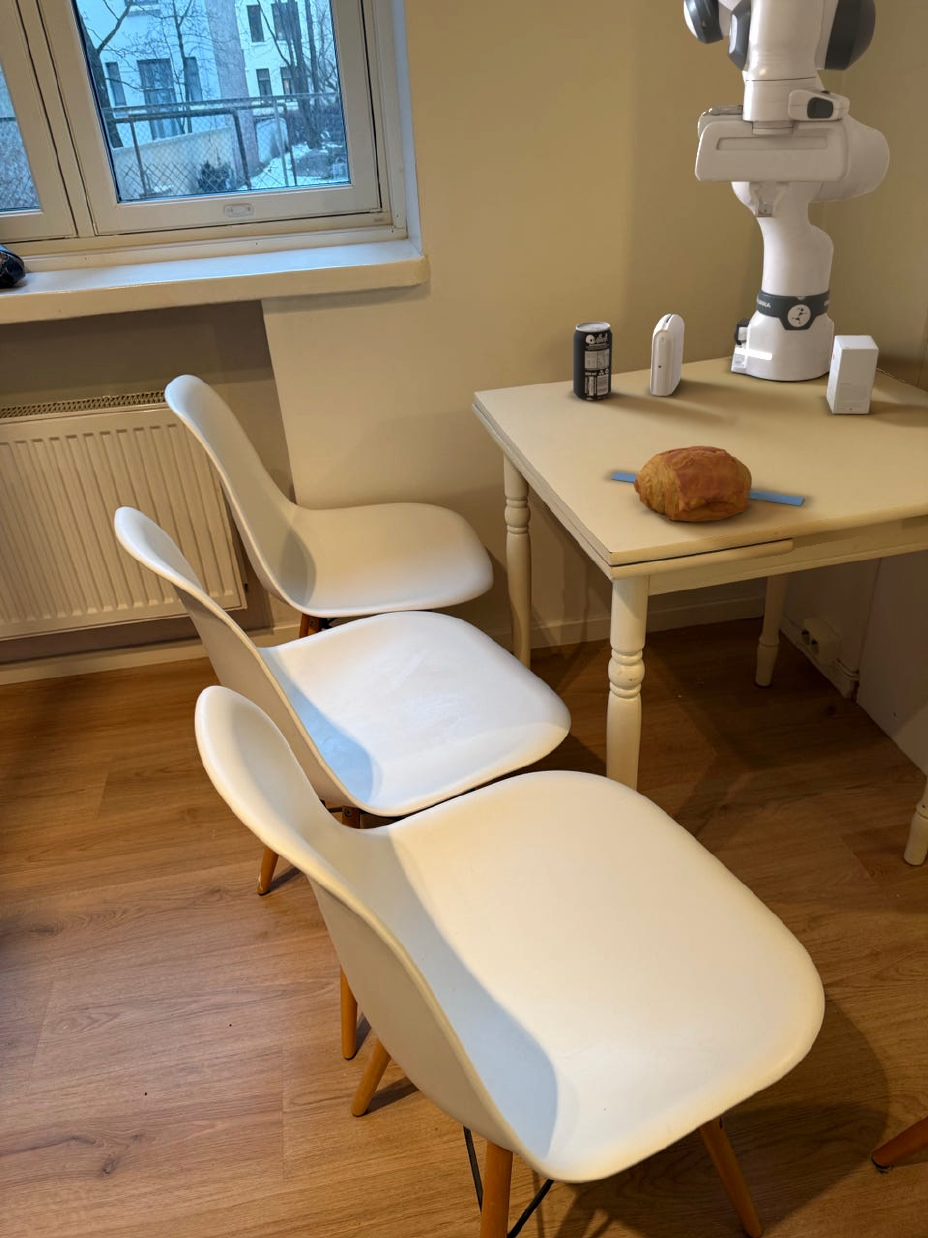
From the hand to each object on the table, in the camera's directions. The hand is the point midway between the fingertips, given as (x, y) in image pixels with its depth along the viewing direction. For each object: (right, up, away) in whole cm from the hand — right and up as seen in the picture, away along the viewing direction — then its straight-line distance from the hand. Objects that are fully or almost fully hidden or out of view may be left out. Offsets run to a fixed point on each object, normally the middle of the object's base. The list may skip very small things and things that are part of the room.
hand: (766, 216), depth 130 cm
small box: (+20, -21, +23) cm, 37 cm away
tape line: (-9, -38, -1) cm, 39 cm away
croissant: (-11, -41, -5) cm, 42 cm away
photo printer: (-6, -15, +36) cm, 39 cm away
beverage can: (-19, -17, +35) cm, 43 cm away
